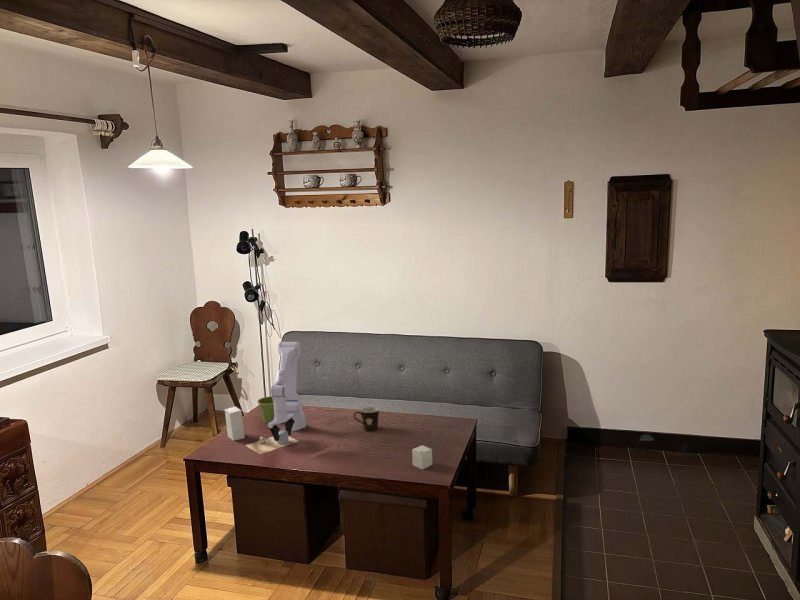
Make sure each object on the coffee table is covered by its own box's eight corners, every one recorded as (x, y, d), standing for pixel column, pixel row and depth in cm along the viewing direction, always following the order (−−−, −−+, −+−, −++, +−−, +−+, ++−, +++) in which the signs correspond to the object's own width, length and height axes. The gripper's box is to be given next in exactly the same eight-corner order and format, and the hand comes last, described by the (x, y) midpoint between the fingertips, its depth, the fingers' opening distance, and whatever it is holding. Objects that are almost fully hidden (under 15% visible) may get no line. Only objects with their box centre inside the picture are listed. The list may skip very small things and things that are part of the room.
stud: (264, 441, 297) (263, 435, 296) (266, 443, 295) (266, 437, 294) (259, 443, 295) (258, 437, 294) (261, 445, 293) (261, 438, 292)
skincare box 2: (422, 461, 273) (421, 444, 271) (432, 465, 268) (432, 448, 267) (412, 465, 269) (411, 449, 267) (422, 469, 264) (422, 453, 263)
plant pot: (254, 421, 327) (252, 400, 325) (274, 415, 335) (272, 394, 333) (266, 427, 318) (265, 405, 316) (286, 420, 326) (285, 399, 324)
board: (283, 435, 306) (282, 433, 306) (298, 443, 296) (298, 441, 296) (245, 447, 293) (245, 445, 293) (260, 456, 283) (260, 454, 283)
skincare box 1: (245, 440, 303) (242, 410, 300) (232, 443, 299) (230, 413, 297) (239, 434, 310) (236, 405, 307) (226, 437, 306) (224, 408, 304)
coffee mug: (383, 427, 312) (382, 408, 310) (373, 433, 305) (372, 413, 303) (363, 423, 318) (362, 404, 316) (353, 429, 311) (352, 410, 309)
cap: (284, 439, 298) (284, 429, 298) (290, 442, 295) (289, 432, 294) (275, 442, 295) (274, 432, 294) (281, 445, 291) (280, 435, 290)
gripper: (285, 403, 300) (287, 431, 302) (262, 412, 289) (264, 441, 291) (296, 406, 296) (298, 434, 298) (273, 415, 285) (275, 444, 287)
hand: (282, 437), depth 294 cm, fingers open, 7 cm apart
